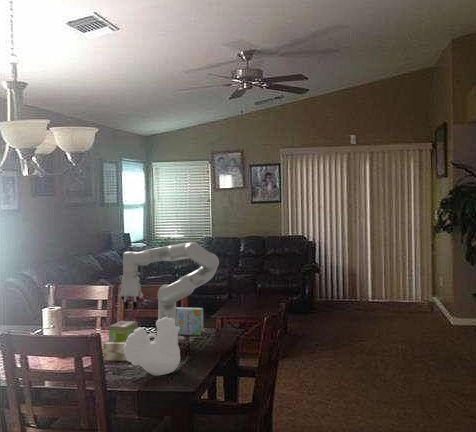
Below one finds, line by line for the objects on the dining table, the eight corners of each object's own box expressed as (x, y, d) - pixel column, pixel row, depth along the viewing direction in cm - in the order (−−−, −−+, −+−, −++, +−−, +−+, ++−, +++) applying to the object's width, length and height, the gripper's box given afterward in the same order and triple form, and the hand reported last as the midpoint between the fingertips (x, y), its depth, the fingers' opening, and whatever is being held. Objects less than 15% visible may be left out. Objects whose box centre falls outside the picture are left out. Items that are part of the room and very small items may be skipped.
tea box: (127, 356, 285) (127, 326, 285) (108, 355, 287) (107, 326, 287) (138, 349, 300) (138, 320, 300) (120, 348, 302) (120, 319, 302)
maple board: (129, 358, 281) (129, 342, 281) (128, 360, 278) (127, 343, 278) (105, 358, 282) (104, 342, 281) (103, 360, 279) (103, 343, 278)
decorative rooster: (179, 366, 266) (179, 313, 266) (181, 377, 251) (181, 319, 250) (124, 369, 262) (123, 315, 262) (123, 380, 247) (122, 322, 246)
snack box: (203, 333, 335) (203, 307, 334) (200, 335, 329) (200, 309, 329) (169, 332, 339) (168, 306, 339) (165, 334, 334) (165, 308, 334)
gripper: (147, 273, 312) (147, 307, 313) (116, 273, 313) (117, 307, 313) (144, 275, 305) (144, 310, 305) (113, 275, 306) (113, 310, 306)
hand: (130, 308), depth 309 cm, fingers open, 3 cm apart
